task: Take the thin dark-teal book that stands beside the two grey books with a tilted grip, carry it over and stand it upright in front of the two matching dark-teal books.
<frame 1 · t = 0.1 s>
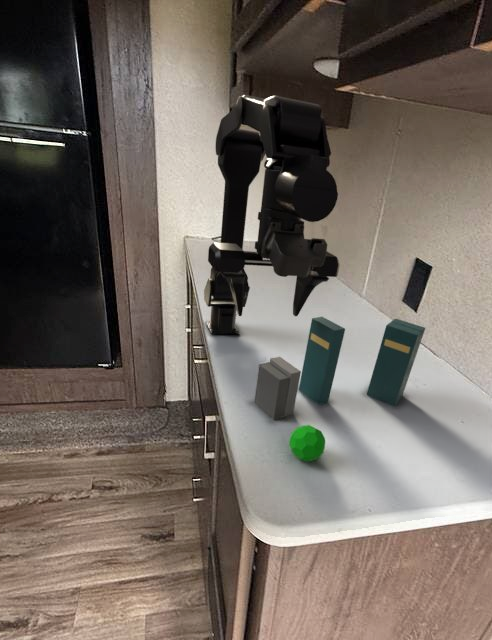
hand: (268, 315, 62), 15 cm above the table, tool pointing down, fingers open, 9 cm apart
polyhedron: (304, 457, 56), on the table
grey books: (273, 408, 66), on the table
teal books: (384, 394, 75), on the table
teal book: (313, 395, 71), on the table
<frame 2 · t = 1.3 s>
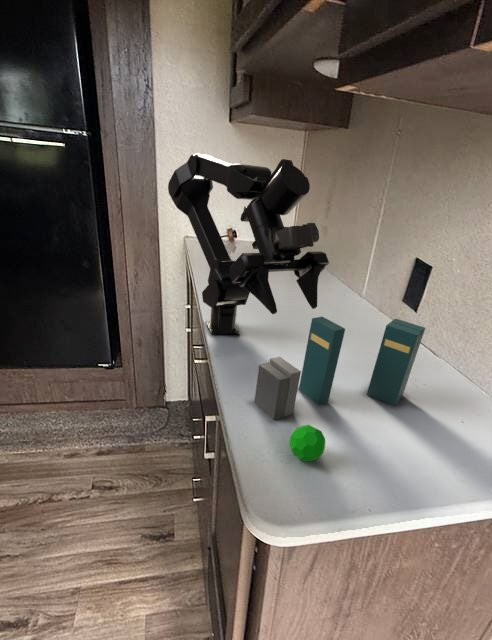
hand: (295, 310, 70), 13 cm above the table, tool tilted 45°, fingers open, 9 cm apart
nothing on the table moved.
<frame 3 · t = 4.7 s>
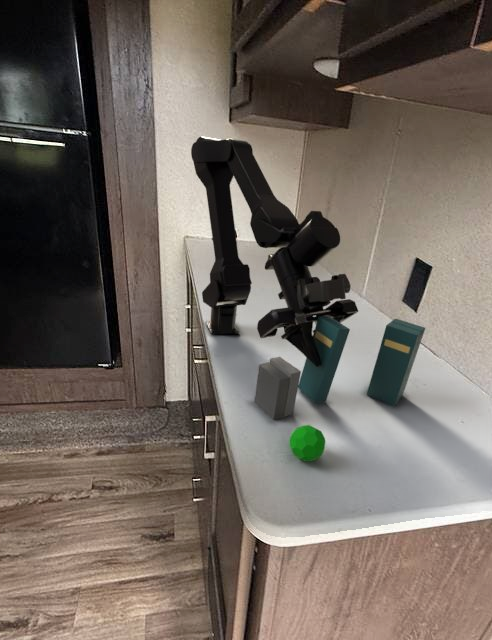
hand: (326, 364, 67), 7 cm above the table, tool tilted 45°, fingers closed on teal book, 3 cm apart
teal book: (311, 394, 71), on the table, tilted 6°, touching gripper
everything else where it was.
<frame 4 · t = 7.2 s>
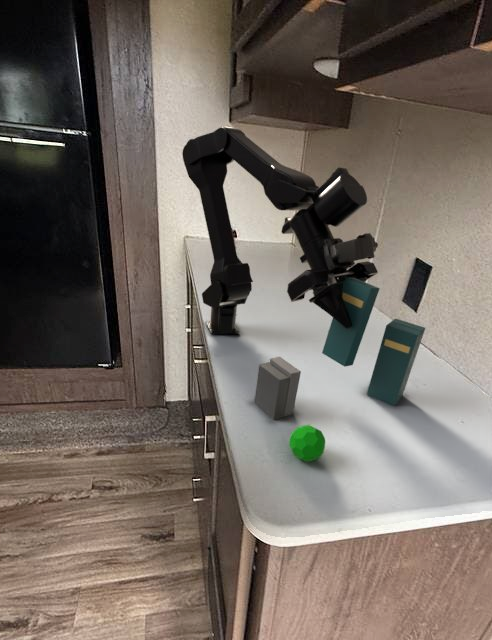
hand: (355, 325, 67), 13 cm above the table, tool tilted 45°, fingers closed on teal book, 3 cm apart
teal book: (337, 359, 71), point 6 cm above the table, tilted 6°, touching gripper
everything else where it was.
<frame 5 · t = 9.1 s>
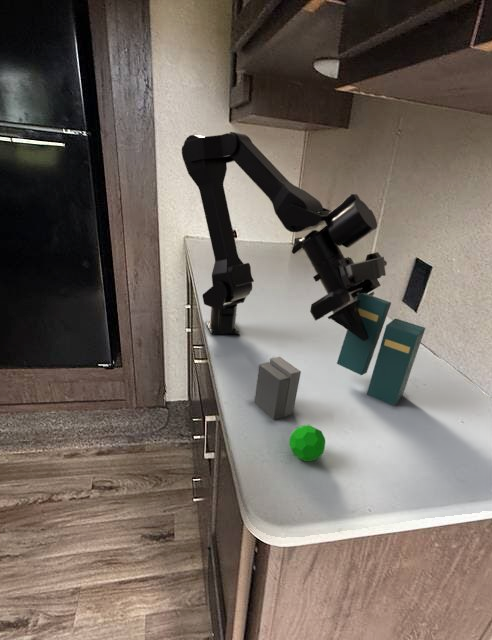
hand: (369, 337, 73), 10 cm above the table, tool tilted 45°, fingers closed on teal book, 3 cm apart
teal book: (351, 368, 76), point 3 cm above the table, tilted 6°, touching gripper
everything else where it was.
when the fingers open (7 cm above the table, at t = 10.2 s): teal book stays where it is, on the table.
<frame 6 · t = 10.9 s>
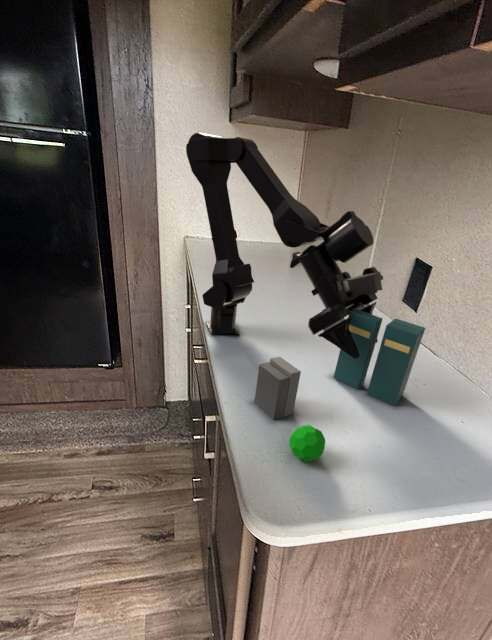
hand: (366, 350, 74), 7 cm above the table, tool tilted 45°, fingers open, 9 cm apart
teal book: (348, 381, 78), on the table
everything else where it was.
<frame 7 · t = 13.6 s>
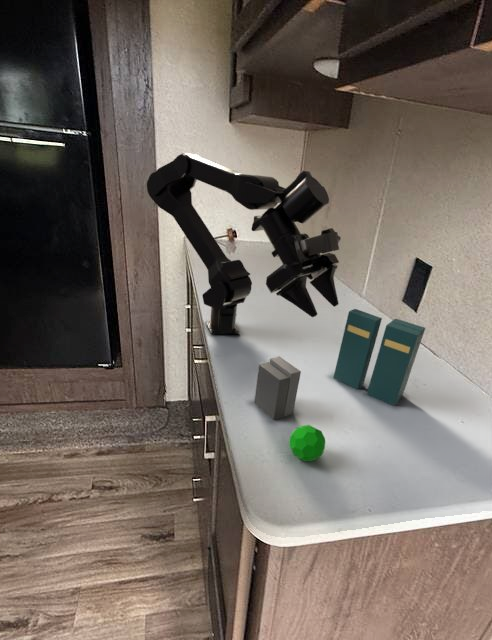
hand: (326, 310, 75), 12 cm above the table, tool tilted 45°, fingers open, 9 cm apart
nothing on the table moved.
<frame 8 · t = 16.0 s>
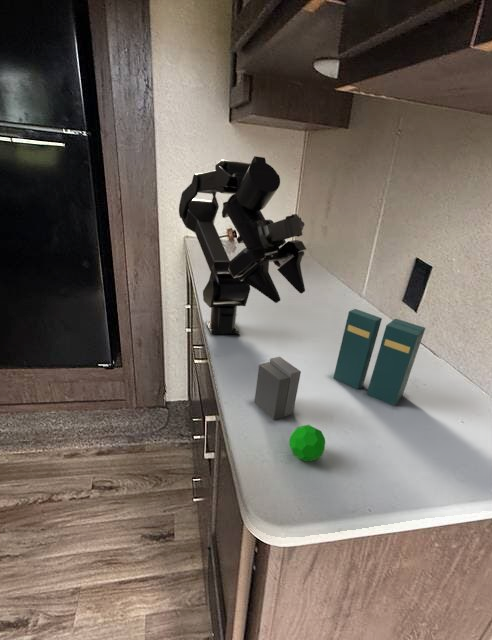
hand: (291, 296, 75), 14 cm above the table, tool tilted 45°, fingers open, 9 cm apart
nothing on the table moved.
at the end: teal book 1.0 cm from the target spot, on the table; teal book tilted 0°; the gripper is holding nothing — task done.
